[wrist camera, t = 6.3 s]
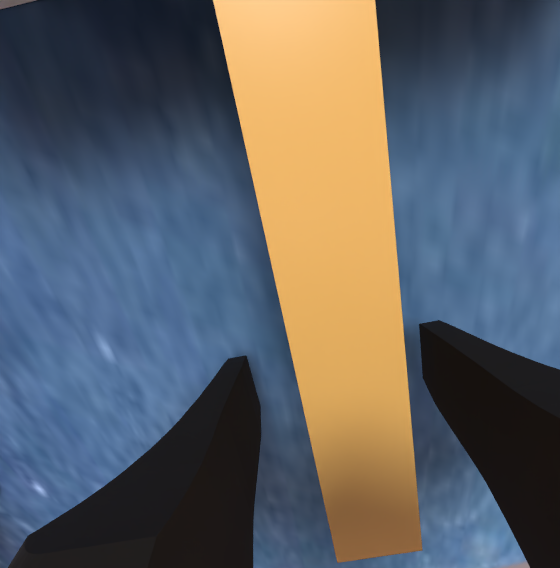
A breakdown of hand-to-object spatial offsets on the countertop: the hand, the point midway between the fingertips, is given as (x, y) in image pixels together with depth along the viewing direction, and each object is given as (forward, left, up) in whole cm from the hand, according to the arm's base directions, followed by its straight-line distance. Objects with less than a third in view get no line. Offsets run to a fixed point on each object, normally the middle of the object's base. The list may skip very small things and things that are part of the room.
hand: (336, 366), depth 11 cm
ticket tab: (+4, 0, -1) cm, 5 cm away
